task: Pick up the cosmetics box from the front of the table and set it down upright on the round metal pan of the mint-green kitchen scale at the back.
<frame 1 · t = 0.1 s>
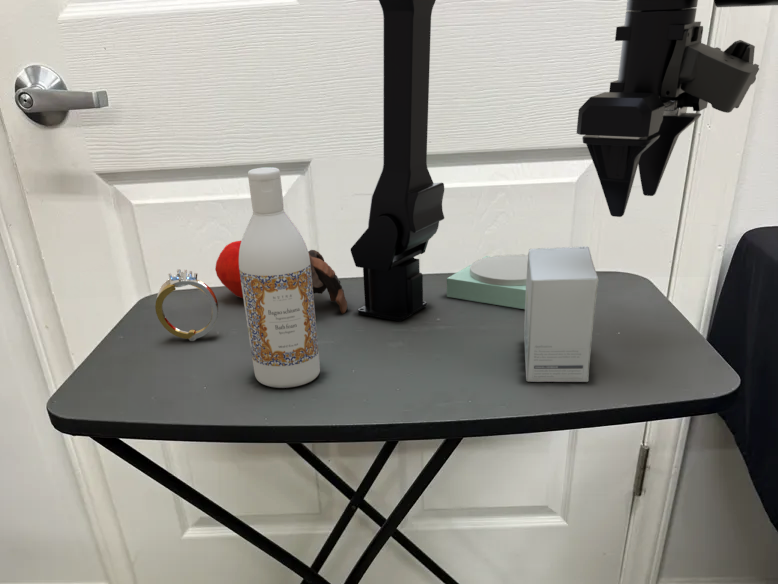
hand: (633, 205, 75), 15 cm above the table, tool pointing down, fingers open, 9 cm apart
brown curved piece: (310, 310, 99), on the table
ring: (193, 341, 92), on the table
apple: (251, 298, 104), on the table
scale: (511, 291, 100), on the table
cosmetics box: (553, 364, 81), on the table
bath foam: (288, 377, 82), on the table
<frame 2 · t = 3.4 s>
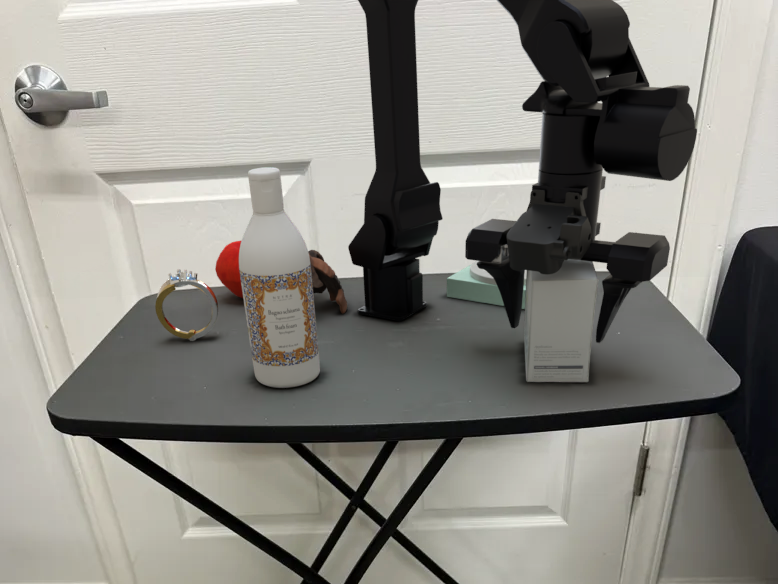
hand: (555, 334, 79), 3 cm above the table, tool pointing down
cosmetics box: (552, 364, 81), on the table, touching gripper
everything else where it was.
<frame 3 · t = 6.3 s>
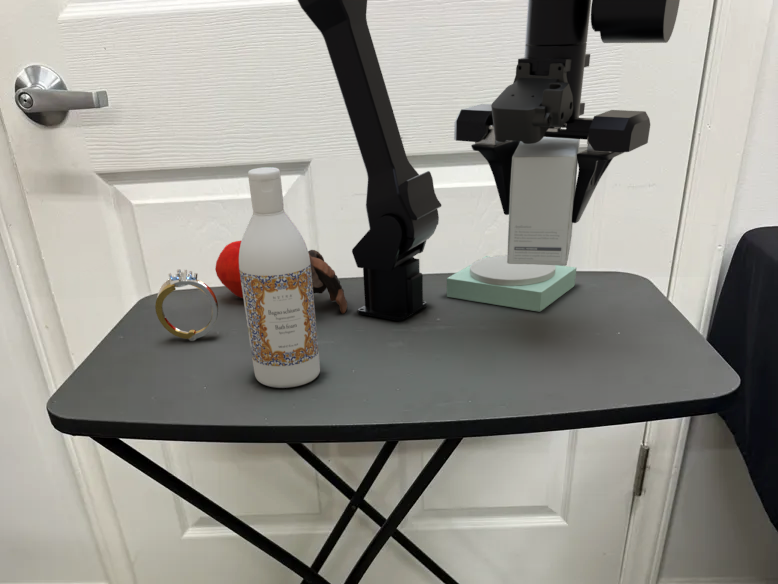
hand: (540, 218, 82), 12 cm above the table, tool pointing down, fingers closed on cosmetics box, 7 cm apart
cosmetics box: (538, 253, 84), point 9 cm above the table, touching gripper
everything else where it was.
when the fingers open (7 cm above the table, at t = 9.3 s): cosmetics box stays where it is, resting on scale.
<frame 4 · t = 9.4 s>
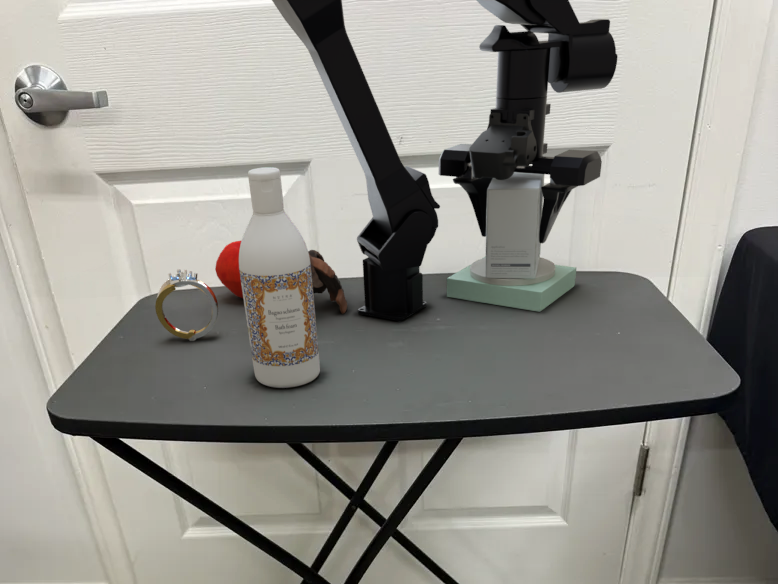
hand: (513, 239, 97), 7 cm above the table, tool pointing down, fingers open, 7 cm apart
cosmetics box: (512, 268, 99), point 3 cm above the table, touching scale
everything else where it was.
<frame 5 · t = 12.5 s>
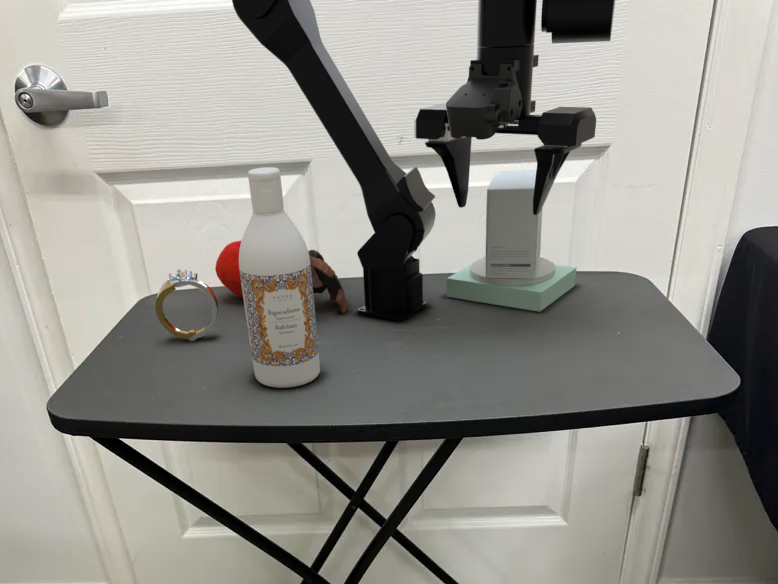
hand: (498, 210, 87), 12 cm above the table, tool pointing down, fingers open, 9 cm apart
nothing on the table moved.
at the end: cosmetics box inside the target area on the scale (0.2 cm from its centre), point 3.0 cm above the scale's base; cosmetics box tilted 0°; the gripper is holding nothing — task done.
